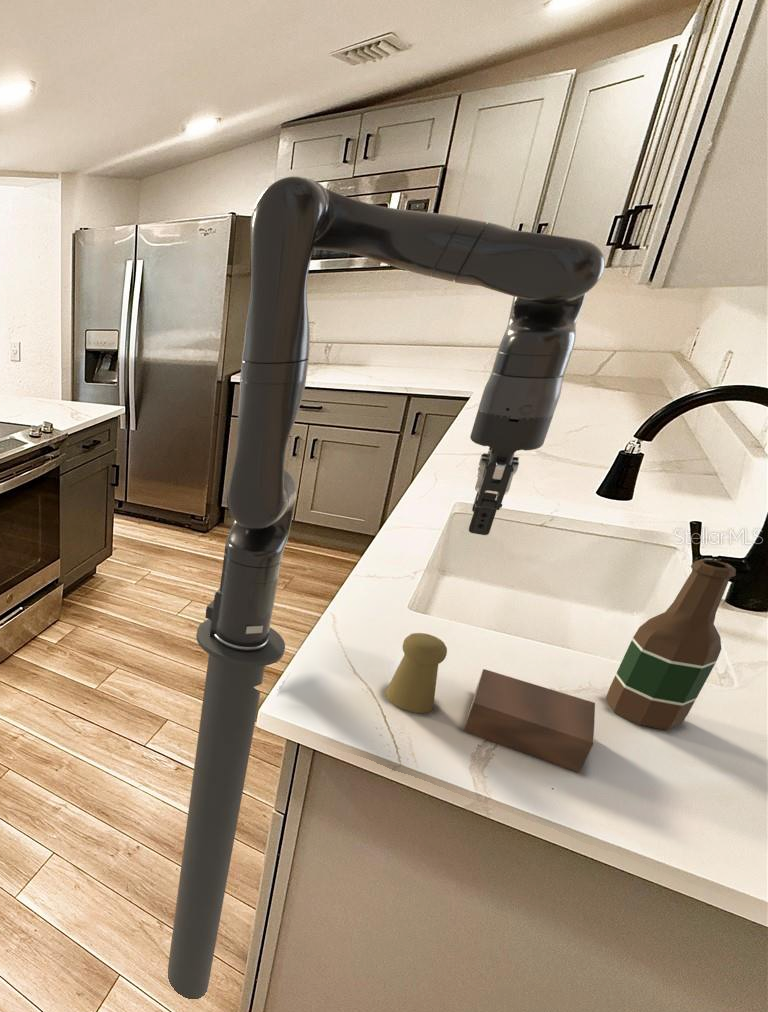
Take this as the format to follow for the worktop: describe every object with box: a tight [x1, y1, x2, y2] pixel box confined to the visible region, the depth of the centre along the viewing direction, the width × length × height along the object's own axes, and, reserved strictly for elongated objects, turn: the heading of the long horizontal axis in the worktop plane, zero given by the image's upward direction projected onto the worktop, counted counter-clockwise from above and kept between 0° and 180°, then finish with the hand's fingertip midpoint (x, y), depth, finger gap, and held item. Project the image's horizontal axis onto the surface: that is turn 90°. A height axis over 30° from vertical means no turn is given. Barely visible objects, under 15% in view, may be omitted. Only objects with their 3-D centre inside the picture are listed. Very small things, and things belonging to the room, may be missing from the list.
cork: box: [384, 632, 448, 714], centre depth 90 cm, size 6×6×11 cm
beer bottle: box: [605, 558, 737, 731], centre depth 83 cm, size 8×8×24 cm
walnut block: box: [463, 668, 596, 774], centre depth 85 cm, size 12×10×5 cm
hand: (479, 522), depth 86 cm, fingers open, 8 cm apart
